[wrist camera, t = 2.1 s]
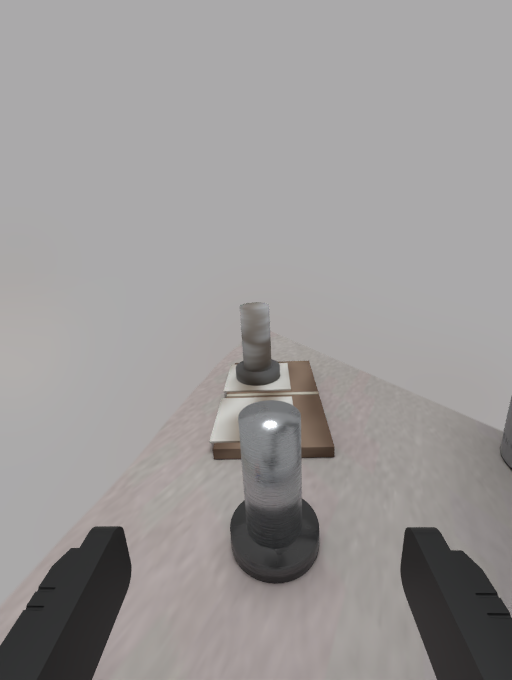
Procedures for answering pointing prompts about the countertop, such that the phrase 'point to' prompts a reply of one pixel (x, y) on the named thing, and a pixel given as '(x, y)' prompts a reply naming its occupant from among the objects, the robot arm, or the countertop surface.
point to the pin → (273, 496)
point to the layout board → (268, 390)
